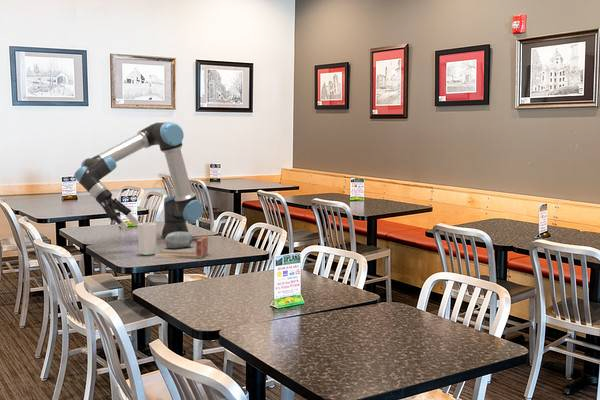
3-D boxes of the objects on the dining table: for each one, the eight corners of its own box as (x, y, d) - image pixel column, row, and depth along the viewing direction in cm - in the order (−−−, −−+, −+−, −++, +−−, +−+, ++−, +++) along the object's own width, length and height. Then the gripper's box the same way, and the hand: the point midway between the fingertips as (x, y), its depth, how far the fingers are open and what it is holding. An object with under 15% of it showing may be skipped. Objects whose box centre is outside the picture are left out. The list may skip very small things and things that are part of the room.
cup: (158, 254, 312) (157, 223, 310) (145, 256, 307) (144, 225, 305) (149, 252, 317) (148, 222, 315) (136, 254, 312) (135, 223, 310)
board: (163, 252, 317) (163, 235, 316) (207, 253, 314) (207, 236, 313) (155, 257, 305) (154, 239, 304) (200, 258, 302) (200, 241, 301)
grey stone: (190, 238, 339) (187, 223, 333) (195, 249, 332) (192, 234, 326) (164, 246, 335) (161, 231, 329) (169, 257, 328) (166, 242, 322)
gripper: (107, 196, 324) (136, 227, 323) (83, 202, 299) (115, 235, 299) (117, 186, 323) (146, 217, 322) (94, 190, 298) (126, 224, 298)
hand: (131, 226), depth 310 cm, fingers open, 13 cm apart
